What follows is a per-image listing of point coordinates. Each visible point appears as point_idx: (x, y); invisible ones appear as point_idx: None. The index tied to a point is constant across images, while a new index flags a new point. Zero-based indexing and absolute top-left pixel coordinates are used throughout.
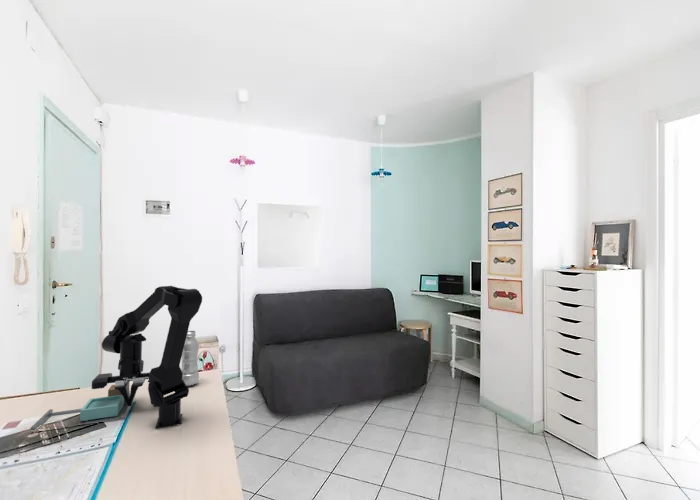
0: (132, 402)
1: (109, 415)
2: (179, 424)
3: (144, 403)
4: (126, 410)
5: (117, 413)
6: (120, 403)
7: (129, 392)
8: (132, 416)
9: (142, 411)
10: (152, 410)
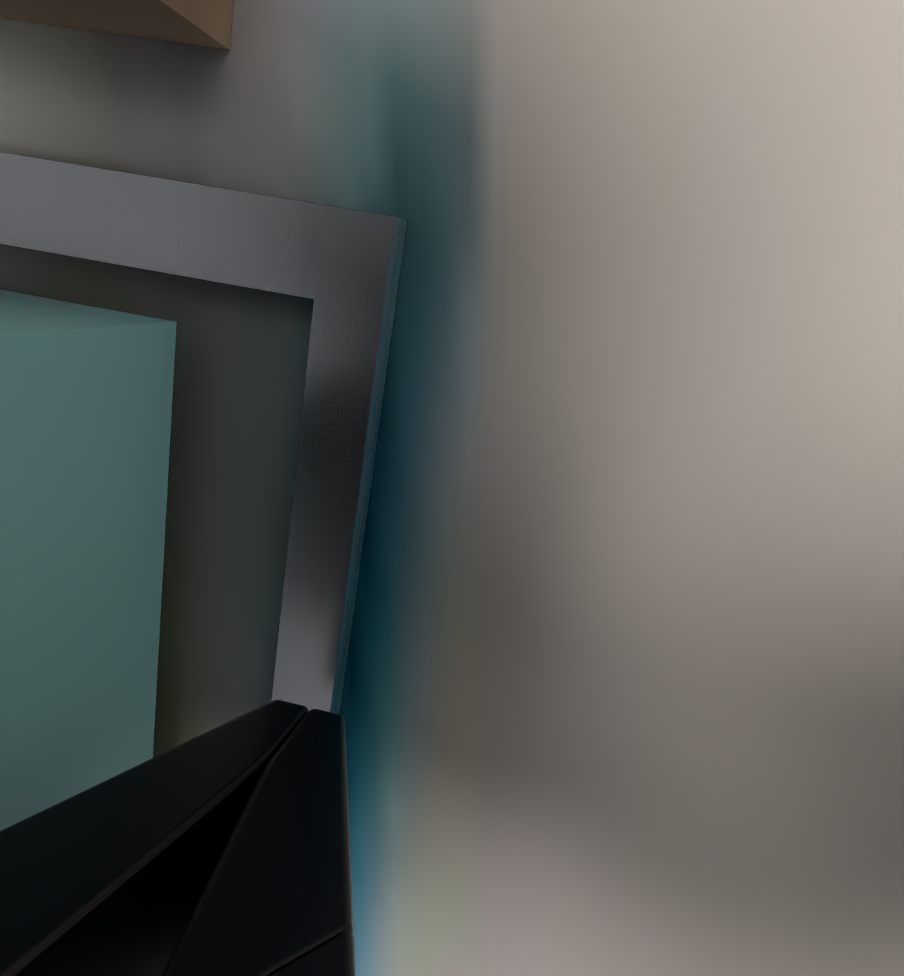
0: (376, 285)
1: None
2: None
3: (675, 383)
4: None
5: None
6: None
7: (77, 965)
8: (408, 963)
9: (588, 852)
10: (782, 924)
